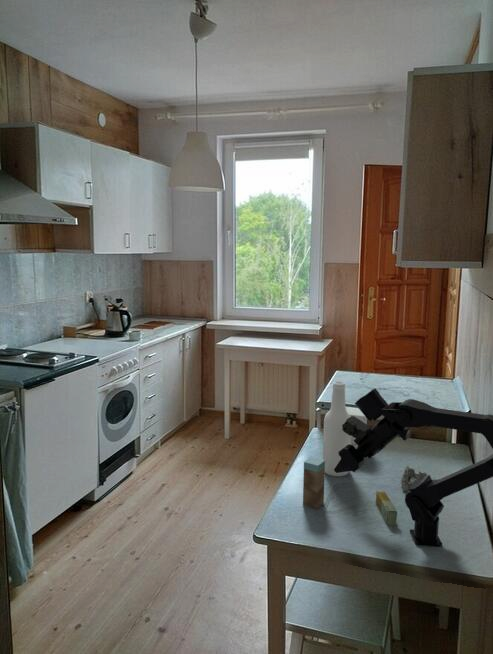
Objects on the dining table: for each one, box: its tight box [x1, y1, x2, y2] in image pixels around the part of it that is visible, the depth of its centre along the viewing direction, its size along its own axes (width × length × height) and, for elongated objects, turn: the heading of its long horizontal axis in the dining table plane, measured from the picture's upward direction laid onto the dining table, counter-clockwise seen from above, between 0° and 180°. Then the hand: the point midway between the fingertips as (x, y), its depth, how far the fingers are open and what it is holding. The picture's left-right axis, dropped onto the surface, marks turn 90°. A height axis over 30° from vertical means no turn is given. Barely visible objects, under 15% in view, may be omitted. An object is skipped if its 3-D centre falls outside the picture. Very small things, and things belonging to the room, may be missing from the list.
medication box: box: [375, 490, 398, 527], centre depth 140 cm, size 12×3×4 cm, turn 1°
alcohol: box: [322, 381, 351, 478], centre depth 165 cm, size 9×9×30 cm
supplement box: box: [346, 406, 368, 449], centre depth 183 cm, size 9×9×15 cm
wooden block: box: [302, 456, 326, 510], centre depth 145 cm, size 4×4×13 cm
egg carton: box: [400, 465, 431, 492], centre depth 157 cm, size 11×8×4 cm
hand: (342, 465), depth 140 cm, fingers open, 9 cm apart
